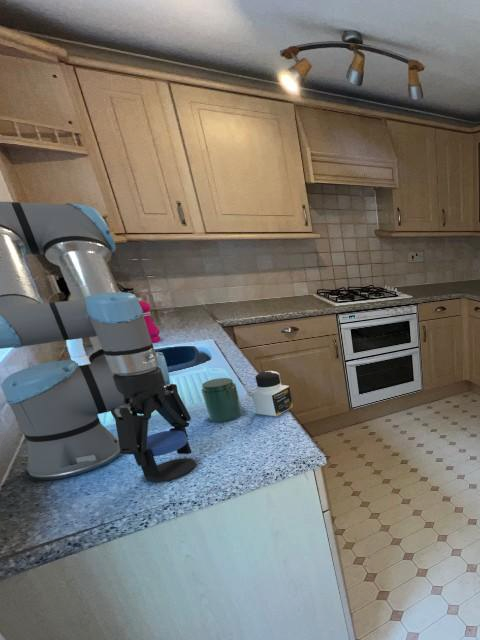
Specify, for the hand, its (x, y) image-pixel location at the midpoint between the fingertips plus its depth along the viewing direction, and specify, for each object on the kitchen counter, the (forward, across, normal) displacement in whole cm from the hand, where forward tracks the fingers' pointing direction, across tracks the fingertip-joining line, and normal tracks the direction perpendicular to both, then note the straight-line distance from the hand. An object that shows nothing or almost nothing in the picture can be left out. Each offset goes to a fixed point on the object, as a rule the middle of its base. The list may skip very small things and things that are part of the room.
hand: (169, 463), depth 91 cm
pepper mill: (+3, +102, +89) cm, 135 cm away
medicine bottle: (+2, +32, -6) cm, 33 cm away
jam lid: (-6, 0, 0) cm, 6 cm away
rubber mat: (+2, 0, 0) cm, 2 cm away
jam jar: (+2, +28, +6) cm, 29 cm away
